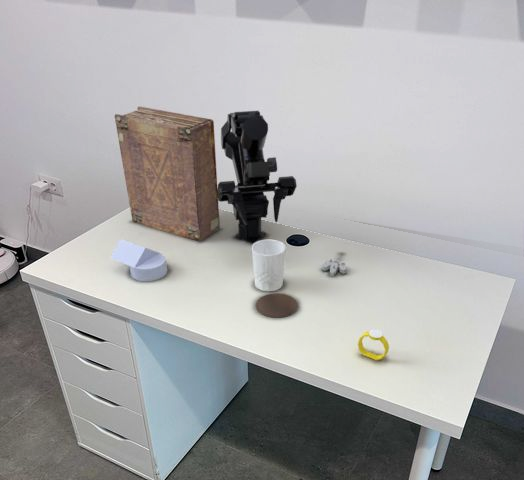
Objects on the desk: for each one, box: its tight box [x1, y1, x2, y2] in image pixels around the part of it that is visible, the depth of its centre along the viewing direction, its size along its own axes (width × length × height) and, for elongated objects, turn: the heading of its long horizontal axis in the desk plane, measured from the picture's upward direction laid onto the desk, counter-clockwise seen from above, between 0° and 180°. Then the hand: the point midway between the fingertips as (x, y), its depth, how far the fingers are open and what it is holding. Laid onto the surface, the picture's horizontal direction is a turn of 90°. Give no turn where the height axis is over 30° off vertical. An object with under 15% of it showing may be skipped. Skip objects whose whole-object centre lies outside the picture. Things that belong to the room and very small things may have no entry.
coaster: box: [255, 292, 299, 319], centre depth 122 cm, size 10×10×1 cm
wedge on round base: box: [109, 238, 168, 282], centre depth 134 cm, size 9×7×13 cm
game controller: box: [322, 252, 347, 277], centre depth 136 cm, size 6×12×3 cm, turn 179°
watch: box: [357, 328, 390, 361], centre depth 106 cm, size 6×3×6 cm, turn 58°
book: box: [114, 106, 221, 242], centre depth 146 cm, size 25×9×30 cm, turn 58°
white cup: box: [251, 238, 287, 292], centre depth 127 cm, size 8×8×10 cm
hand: (261, 222), depth 129 cm, fingers open, 7 cm apart
